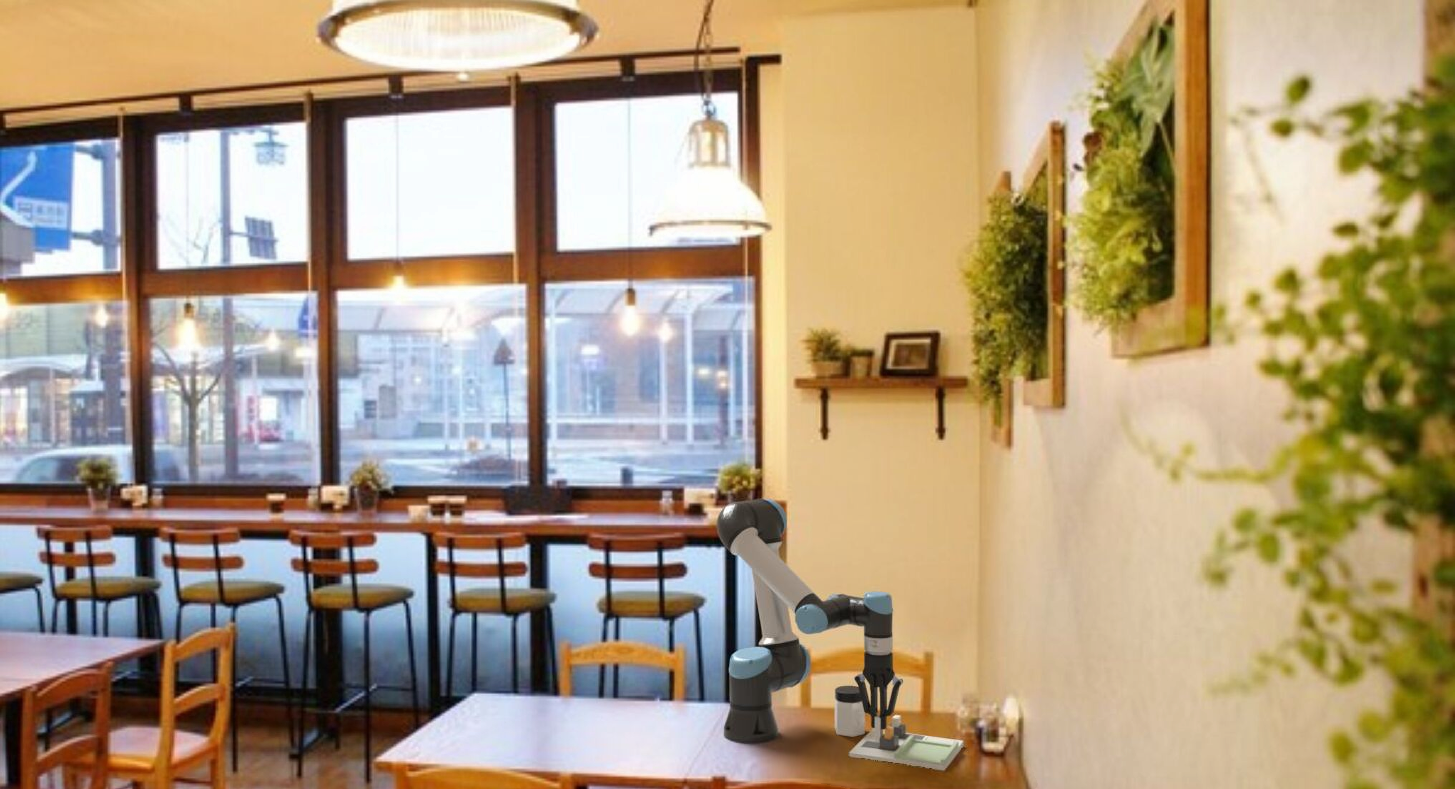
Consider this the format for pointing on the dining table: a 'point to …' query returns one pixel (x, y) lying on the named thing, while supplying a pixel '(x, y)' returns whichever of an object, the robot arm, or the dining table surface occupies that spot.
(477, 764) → the dining table surface
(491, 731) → the dining table surface
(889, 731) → the toggle tagged
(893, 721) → the toggle plain
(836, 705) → the jar
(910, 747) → the panel
